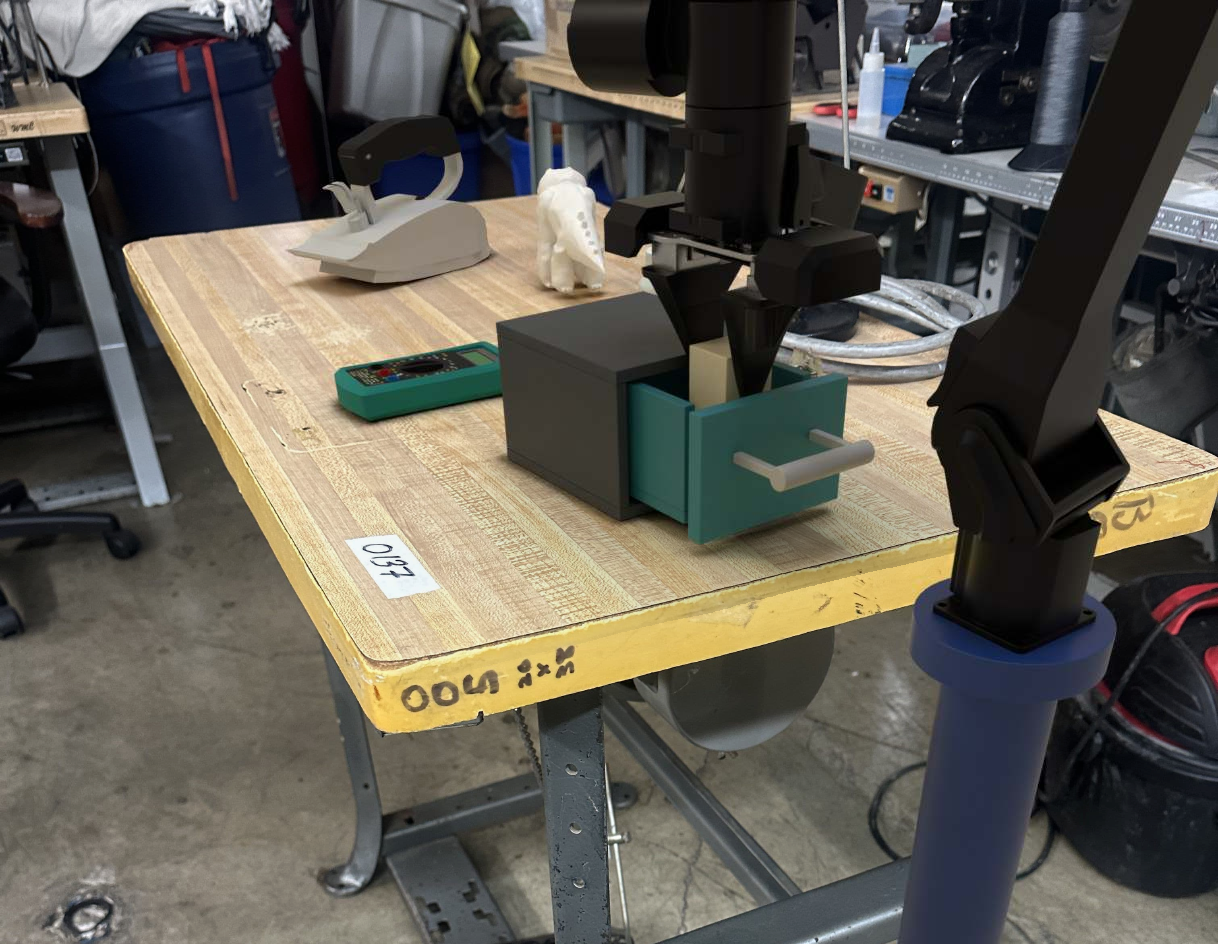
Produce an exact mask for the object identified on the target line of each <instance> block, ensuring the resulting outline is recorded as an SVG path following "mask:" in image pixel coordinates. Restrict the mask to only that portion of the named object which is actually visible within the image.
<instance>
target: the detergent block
mask: <svg viewBox="0 0 1218 944" xmlns="http://www.w3.org/2000/svg"><path fill="white" fill-rule="evenodd" d="M771 372H772V369H771V371H770V374H769V376H768V379H767V381H766V384H765V386H764V389H763V392H765V391H769V390H771ZM739 398H740V396H739V392H738V388H737V384H736V379H735V374H734V368H733V362H732V357H731V351H730V346H729V340H728V336H726V337H722V338H718V339H714V340H710V341H706V342H702V343H697V344H693V345H690V378H689V402H690V403H693V404H695V410H699V409H703V408H706V407H710V406H714V405H717V404H721V403H725V402H728V401H732V400H736V399H739Z"/></svg>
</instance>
